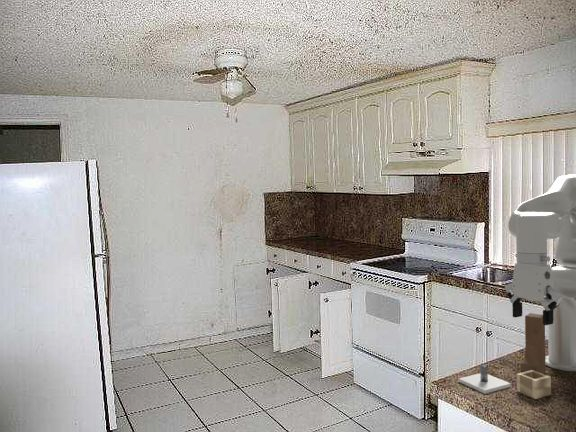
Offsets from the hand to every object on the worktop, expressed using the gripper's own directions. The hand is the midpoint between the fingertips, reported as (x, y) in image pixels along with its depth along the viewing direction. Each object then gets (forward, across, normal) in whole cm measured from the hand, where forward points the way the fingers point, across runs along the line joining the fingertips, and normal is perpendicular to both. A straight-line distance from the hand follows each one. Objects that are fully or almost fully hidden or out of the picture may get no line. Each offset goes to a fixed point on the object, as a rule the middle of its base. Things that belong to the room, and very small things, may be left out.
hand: (532, 320), depth 133 cm
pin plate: (+20, +11, +7) cm, 24 cm away
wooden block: (+20, +9, -11) cm, 25 cm away
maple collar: (+20, 0, 0) cm, 20 cm away
